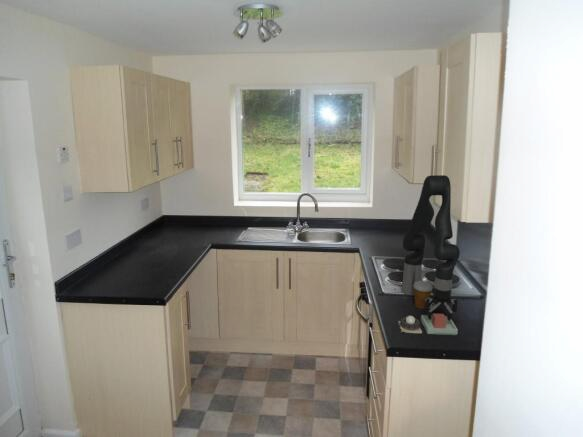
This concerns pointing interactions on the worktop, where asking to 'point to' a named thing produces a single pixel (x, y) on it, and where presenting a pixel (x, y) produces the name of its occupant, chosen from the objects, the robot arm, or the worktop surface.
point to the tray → (430, 329)
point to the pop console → (409, 326)
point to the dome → (410, 320)
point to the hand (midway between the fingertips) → (439, 319)
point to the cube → (439, 321)
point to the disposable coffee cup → (421, 293)
